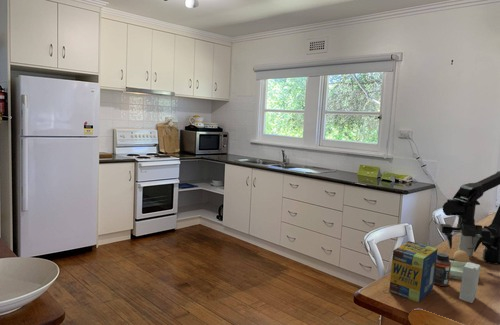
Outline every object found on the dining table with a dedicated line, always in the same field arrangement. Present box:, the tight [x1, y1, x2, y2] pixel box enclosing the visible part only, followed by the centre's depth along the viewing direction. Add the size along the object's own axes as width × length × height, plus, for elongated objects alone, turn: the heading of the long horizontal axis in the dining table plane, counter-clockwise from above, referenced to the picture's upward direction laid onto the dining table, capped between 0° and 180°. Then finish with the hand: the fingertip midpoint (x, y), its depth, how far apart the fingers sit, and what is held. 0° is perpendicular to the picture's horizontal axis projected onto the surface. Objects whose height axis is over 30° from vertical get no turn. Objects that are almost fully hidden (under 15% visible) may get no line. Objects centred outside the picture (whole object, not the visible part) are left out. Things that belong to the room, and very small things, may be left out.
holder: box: [449, 257, 473, 263], centre depth 164 cm, size 10×10×1 cm
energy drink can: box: [457, 232, 475, 258], centre depth 174 cm, size 6×6×15 cm
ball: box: [452, 250, 470, 263], centre depth 164 cm, size 6×6×6 cm
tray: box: [449, 260, 480, 283], centre depth 153 cm, size 12×12×3 cm
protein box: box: [388, 240, 438, 303], centre depth 136 cm, size 10×15×16 cm
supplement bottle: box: [433, 252, 451, 287], centre depth 143 cm, size 6×6×11 cm
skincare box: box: [458, 262, 481, 304], centre depth 131 cm, size 6×4×12 cm
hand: (462, 250), depth 163 cm, fingers open, 9 cm apart
